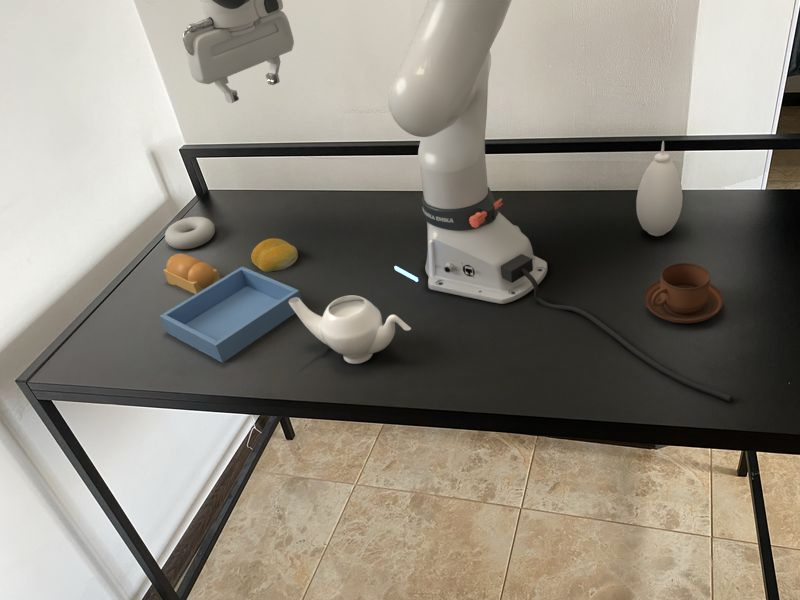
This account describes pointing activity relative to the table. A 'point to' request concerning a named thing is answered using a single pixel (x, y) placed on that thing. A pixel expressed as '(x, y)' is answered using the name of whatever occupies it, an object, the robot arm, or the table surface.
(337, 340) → the teapot
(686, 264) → the cup and saucer
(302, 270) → the table surface
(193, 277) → the loaf
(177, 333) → the tray
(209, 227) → the donut
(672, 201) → the white air blower bulb
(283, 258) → the bread roll
